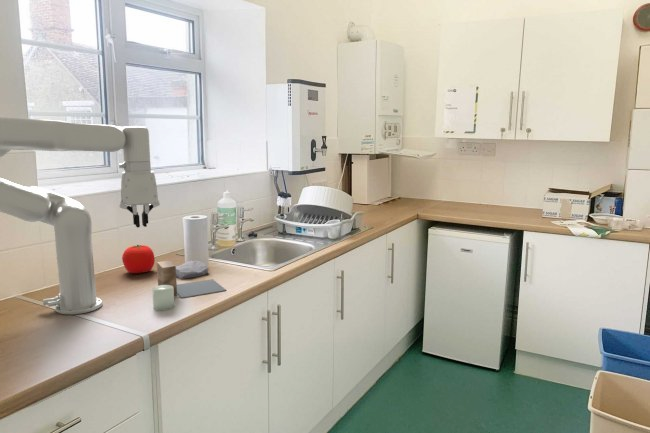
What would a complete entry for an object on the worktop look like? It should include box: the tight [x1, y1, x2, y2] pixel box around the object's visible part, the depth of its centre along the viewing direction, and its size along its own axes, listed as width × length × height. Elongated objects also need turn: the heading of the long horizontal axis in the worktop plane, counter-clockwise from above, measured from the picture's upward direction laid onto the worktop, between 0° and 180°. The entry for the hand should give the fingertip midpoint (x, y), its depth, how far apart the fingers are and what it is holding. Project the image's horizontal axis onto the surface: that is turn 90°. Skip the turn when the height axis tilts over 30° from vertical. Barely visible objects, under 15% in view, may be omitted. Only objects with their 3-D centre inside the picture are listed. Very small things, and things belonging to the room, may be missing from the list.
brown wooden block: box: [156, 260, 178, 298], centre depth 161 cm, size 4×8×10 cm, turn 31°
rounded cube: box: [152, 285, 175, 311], centre depth 150 cm, size 6×6×6 cm
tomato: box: [121, 244, 156, 274], centre depth 185 cm, size 11×12×10 cm
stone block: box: [175, 260, 209, 280], centre depth 184 cm, size 12×5×10 cm
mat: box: [177, 278, 227, 299], centre depth 167 cm, size 15×14×1 cm
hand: (141, 226), depth 155 cm, fingers closed
